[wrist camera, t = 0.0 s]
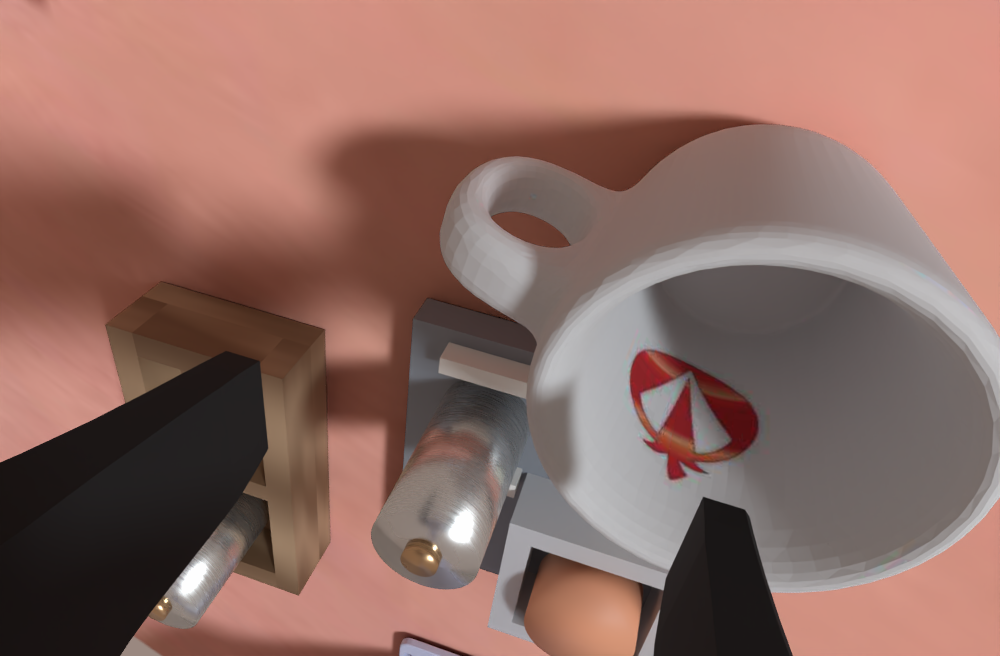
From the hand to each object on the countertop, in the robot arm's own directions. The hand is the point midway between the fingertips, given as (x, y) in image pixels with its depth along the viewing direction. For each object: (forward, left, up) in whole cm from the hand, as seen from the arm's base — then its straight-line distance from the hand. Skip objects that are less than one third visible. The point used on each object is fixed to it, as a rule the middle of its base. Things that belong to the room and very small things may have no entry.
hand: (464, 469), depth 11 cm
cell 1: (-16, +11, -9) cm, 21 cm away
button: (-13, -3, -8) cm, 15 cm away
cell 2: (-7, +2, -9) cm, 12 cm away
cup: (+1, -3, -10) cm, 11 cm away
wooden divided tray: (-13, +11, -10) cm, 20 cm away
